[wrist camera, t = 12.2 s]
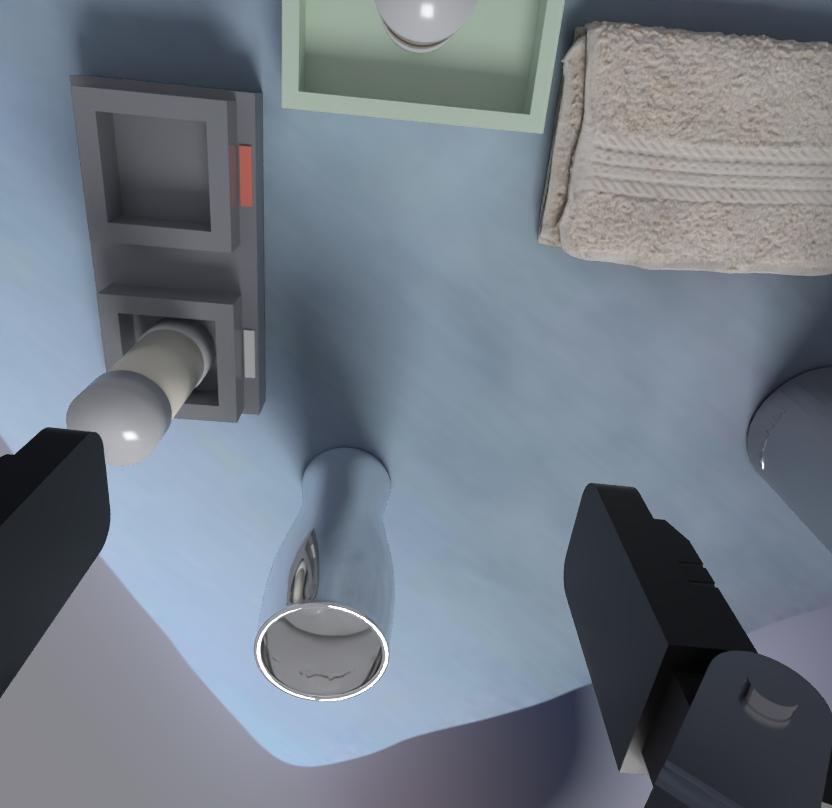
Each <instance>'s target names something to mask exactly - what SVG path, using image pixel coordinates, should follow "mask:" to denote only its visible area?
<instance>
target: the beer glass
mask: <svg viewBox="0 0 832 808" xmlns="http://www.w3.org/2000/svg"><path fill="white" fill-rule="evenodd" d="M390 489H391V484H390V478H389V475H388V473H387V471H386V469H385V467H384V466H383V465H382V463H381V462H380V461H379V460H378V459H376V458H375V457H374V456H372V455H371V454H369V453H367V452H365V451H362V450H359V449H355V448H347V447H343V448H335V449H331V450H328V451H325V452H323V453H321V454H319V455H318V456H317V457H315V458H314V459H313V460H312V461H311V462H310V463H309V465H308V466H307V468H306V470H305V472H304V474H303V478H302V507H301V510H300V512H299V514H298V516H297V518H296V519H295V521H294V523H293V524H292V526H291V528H290V529H289V531H288V533H287V535H286V536H285V538H284V540H283V542H282V544H281V546H280V548H279V550H278V552H277V554H276V556H275V558H274V561H273V564H272V567H271V570H270V573H269V576H268V579H267V582H266V587H265V591H264V595H263V600H262V605H261V611H260V617H259V624H258V630H257V636H256V639H255V643H254V656H255V660H256V663H257V666H258V668H259V669H260V671H261V673H262V674H263V675H264V677H265V678H266V679H267V680H268V681H269V682H270V683H271V684H273V685H274V686H275V687H277V688H278V689H280V690H282V691H283V692H285V693H287V694H290V695H292V696H295V697H298V698H301V699H306V700H311V701H323V702H325V701H338V700H344V699H348V698H351V697H354V696H357V695H359V694H361V693H363V692H365V691H366V690H368V689H369V688H371V687H372V686H373V685H374V684H376V683H377V682H378V681H379V679H380V678H381V677H382V676H383V674H384V672H385V670H386V668H387V665H388V662H389V648H390V641H391V634H392V626H393V618H394V604H395V577H394V569H393V562H392V556H391V552H390V547H389V543H388V539H387V535H386V531H385V526H384V521H383V515H384V511H385V508H386V505H387V503H388V500H389V496H390Z"/></svg>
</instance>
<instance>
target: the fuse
mask: <svg viewBox="0 0 832 808" xmlns="http://www.w3.org/2000/svg"><path fill="white" fill-rule="evenodd" d="M215 355H216V350H215V344H214V341H213V339H212V337H211V335H210V334H209V332H208V331H207V330H206V329H205V328H204V327H203V326H202V325H201V324H199V323H198V322H196V321H194V320H192V319H185V318H173V317H165V318H163V319H161V320H159V321H157V322H156V323H155V324H154V325H153V326H152V327H151V328H150V329H148V330H147V331H146V332H145V333H144V334H143V335H142V336H141V337H140V338H139V340H138V341H137V343H136V344H135V345H134V346H133V347H132V348H131V349H130V350H129V351H128V352H127V353H126V354H125V355H124V356H123V357H122V358H121V359H120V360H118V361H117V362H116V363H115V364H114V365H113V366H112V367H111V368H110V369H109V370H108V371H107V372H106V373H104V374H102V375H101V376H99V377H98V378H96V379H95V380H94V381H93V382H92V383H91V384H90V385H89V386H88V387H87V388H86V389H84V390H83V391H82V392H81V393H80V394H79V395H78V396H77V397H76V398H75V399H74V400H73V401H72V403H71V404H70V406H69V408H68V411H67V416H66V424H67V429H70V430H80V431H90V432H96V433H98V434H99V435H100V436H101V439H102V441H103V446H104V454H105V464H106V465H110V466H122V467H123V466H130V465H134V464H137V463H139V462H141V461H143V460H145V459H146V458H147V457H148V456H149V455H150V454H151V453H152V451H153V450H154V449H155V447H156V446H157V444H158V443H159V441H160V440H161V439H162V437H163V436H164V434H165V433H166V431H167V430H168V428H169V426H170V423H171V421H172V419H173V418H174V416H175V415H176V413H177V412H178V411H179V409H180V408H181V406H182V405H183V404H184V402H185V401H186V399H187V398H188V396H189V395H190V394H191V392H192V391H193V389H194V388H195V387H197V386H198V385H199V384H200V383H201V381H202V380H203V378H204V377H205V375H206V374H207V373H208V371H209V370H210V368H211V367H212V365H213V363H214V360H215Z"/></svg>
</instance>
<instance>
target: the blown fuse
mask: <svg viewBox="0 0 832 808" xmlns="http://www.w3.org/2000/svg"><path fill="white" fill-rule="evenodd" d="M374 1H375V4H376V7H377V9H378V12H379V14H380V18H381V21H382V24H383V26H384V29H385V31H386V33H387V34H388V36H389V37H390V39H391V40H392V41H393V42H394V43H395V44H396V45H397V46H399V47H400V48H401V49H403V50H405V51H408V52H410V53H415V54H426V53H430V52H433V51H436V50H438V49H439V48H441V47H442V46H443V45H445V44H446V43H447V42H448V41H449V40H450V39H451V38H452V36H453V35H454V34H455V32H457V31H458V30H459V29H460V28H461V26H462V25H463V24H464V23H465V22H466V21H467V20H468V18H469V17H470V16H471V14H472V12H473V11H474V9H475V7H476V5H477V2H478V0H374Z"/></svg>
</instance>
